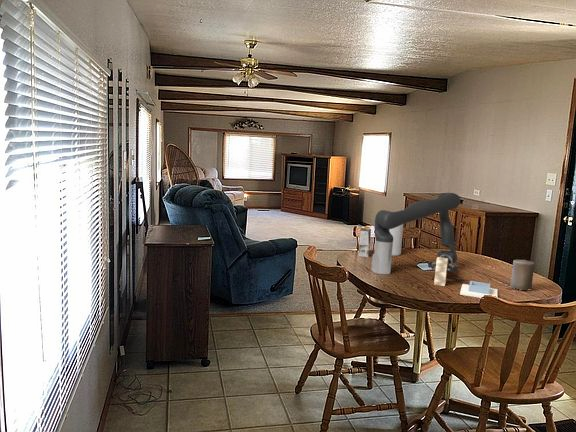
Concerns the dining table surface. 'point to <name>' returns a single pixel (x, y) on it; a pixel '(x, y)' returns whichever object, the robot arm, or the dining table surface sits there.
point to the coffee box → (364, 242)
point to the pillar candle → (522, 274)
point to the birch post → (441, 271)
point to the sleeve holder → (477, 289)
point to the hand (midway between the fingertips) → (441, 268)
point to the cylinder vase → (397, 239)
